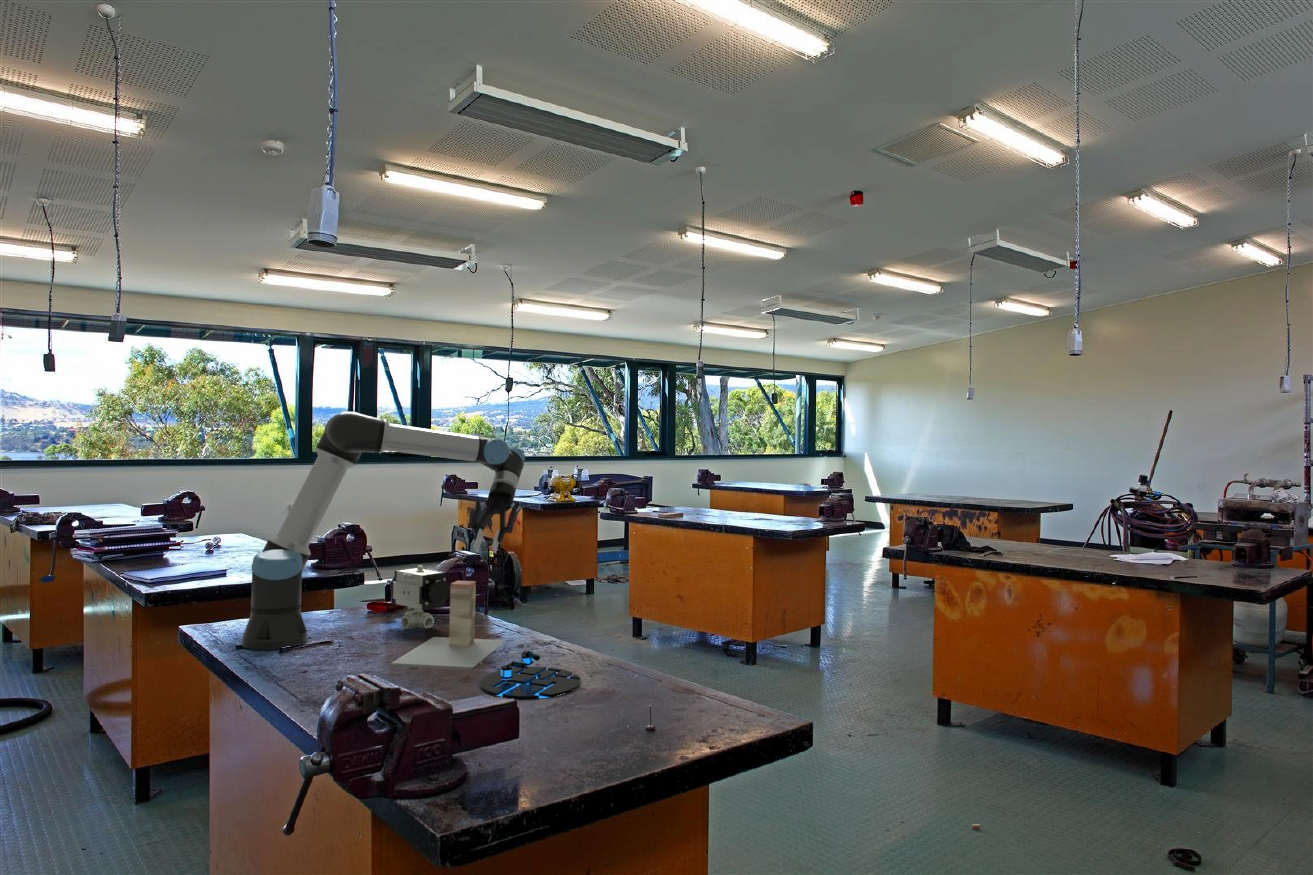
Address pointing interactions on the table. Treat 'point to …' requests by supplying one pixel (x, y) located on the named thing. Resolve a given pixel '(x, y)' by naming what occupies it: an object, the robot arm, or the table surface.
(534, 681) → the platform
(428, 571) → the ball valve
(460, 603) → the birch block
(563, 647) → the table surface
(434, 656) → the rubber mat
